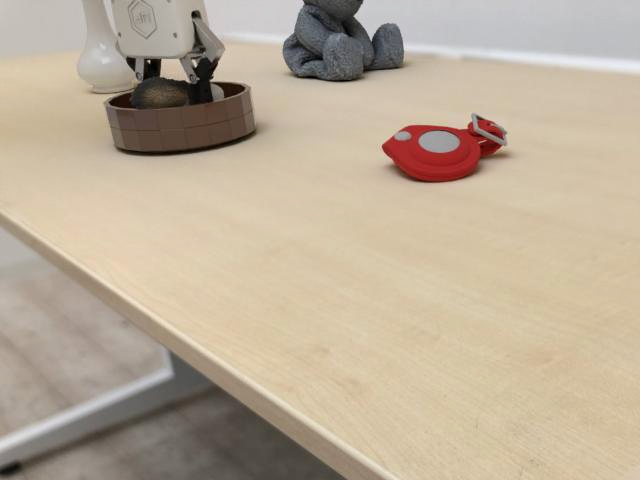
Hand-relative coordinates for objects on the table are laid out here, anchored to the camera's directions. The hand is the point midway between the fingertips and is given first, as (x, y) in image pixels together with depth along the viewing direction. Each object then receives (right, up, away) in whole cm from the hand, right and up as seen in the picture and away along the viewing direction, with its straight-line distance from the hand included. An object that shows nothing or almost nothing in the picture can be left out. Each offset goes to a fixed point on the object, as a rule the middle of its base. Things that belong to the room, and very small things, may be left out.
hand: (182, 114), depth 93 cm
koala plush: (+13, +17, +38) cm, 44 cm away
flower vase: (-22, +13, +34) cm, 42 cm away
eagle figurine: (0, -2, +1) cm, 2 cm away
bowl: (0, -2, +1) cm, 3 cm away
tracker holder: (+31, -10, -16) cm, 36 cm away
